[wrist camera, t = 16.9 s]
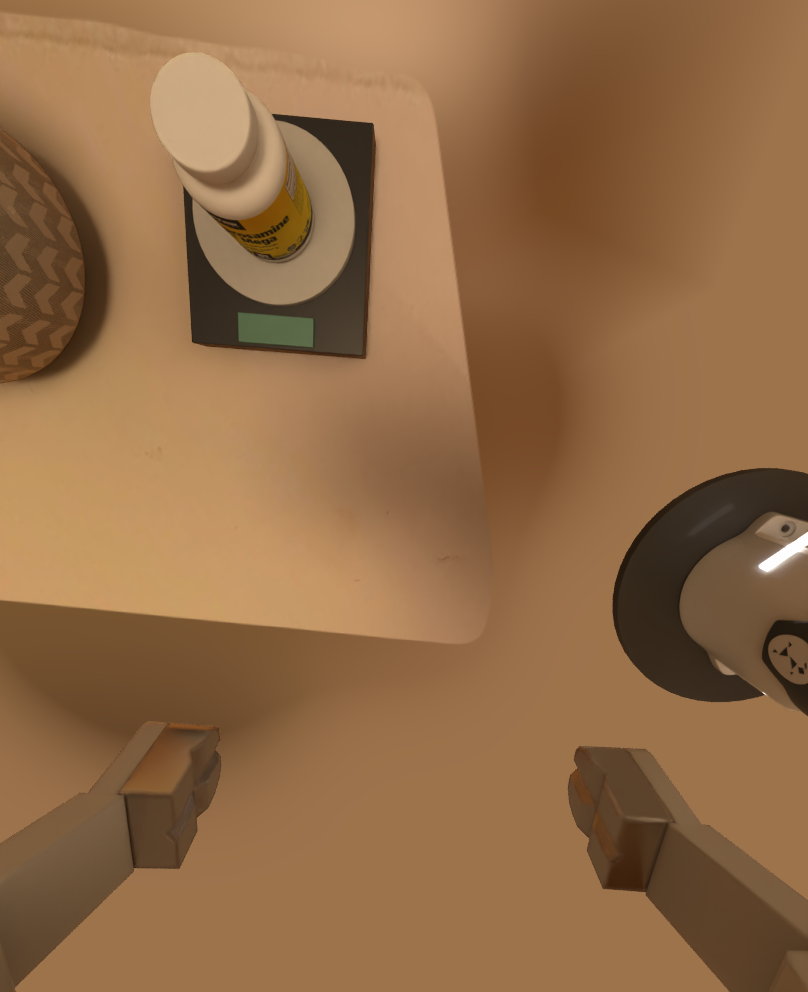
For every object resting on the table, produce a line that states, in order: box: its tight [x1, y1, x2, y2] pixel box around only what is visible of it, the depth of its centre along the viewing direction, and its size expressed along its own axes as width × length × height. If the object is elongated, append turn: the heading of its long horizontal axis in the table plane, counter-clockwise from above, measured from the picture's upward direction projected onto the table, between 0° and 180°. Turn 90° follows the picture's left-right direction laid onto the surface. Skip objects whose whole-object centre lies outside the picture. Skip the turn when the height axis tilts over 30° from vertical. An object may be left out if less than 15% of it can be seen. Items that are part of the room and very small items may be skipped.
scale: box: [183, 114, 376, 359], centre depth 31 cm, size 14×16×3 cm
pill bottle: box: [150, 52, 314, 262], centre depth 23 cm, size 6×6×11 cm
